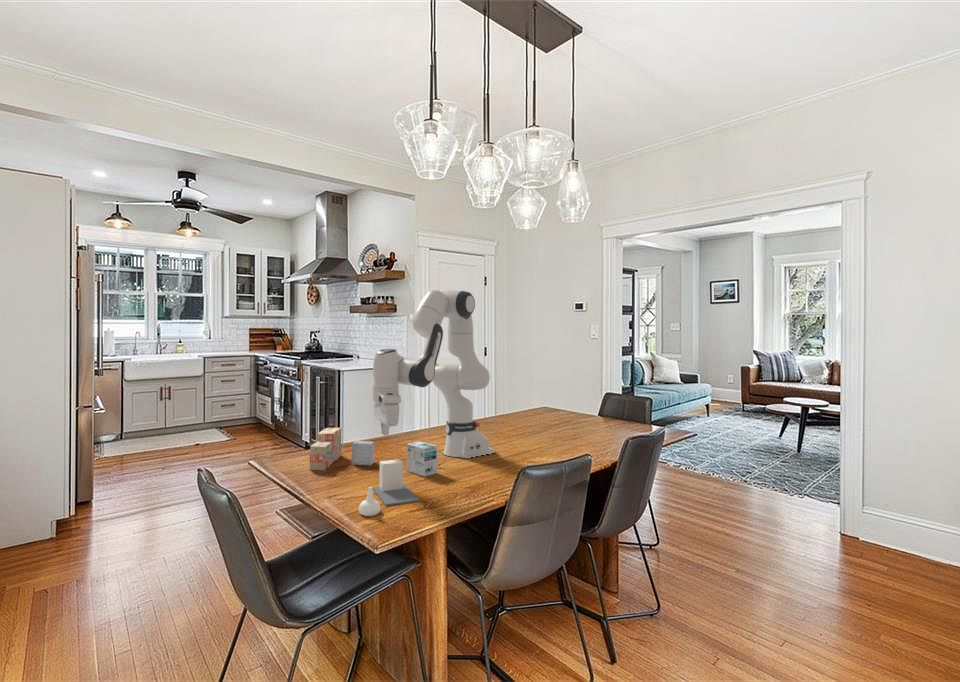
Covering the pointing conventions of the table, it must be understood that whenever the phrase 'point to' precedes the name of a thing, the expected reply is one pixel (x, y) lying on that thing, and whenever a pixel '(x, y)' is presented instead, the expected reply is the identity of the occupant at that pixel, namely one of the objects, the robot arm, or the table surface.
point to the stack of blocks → (325, 449)
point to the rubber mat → (396, 496)
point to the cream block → (391, 475)
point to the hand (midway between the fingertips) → (385, 434)
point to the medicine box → (362, 453)
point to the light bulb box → (422, 458)
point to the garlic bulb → (369, 505)
